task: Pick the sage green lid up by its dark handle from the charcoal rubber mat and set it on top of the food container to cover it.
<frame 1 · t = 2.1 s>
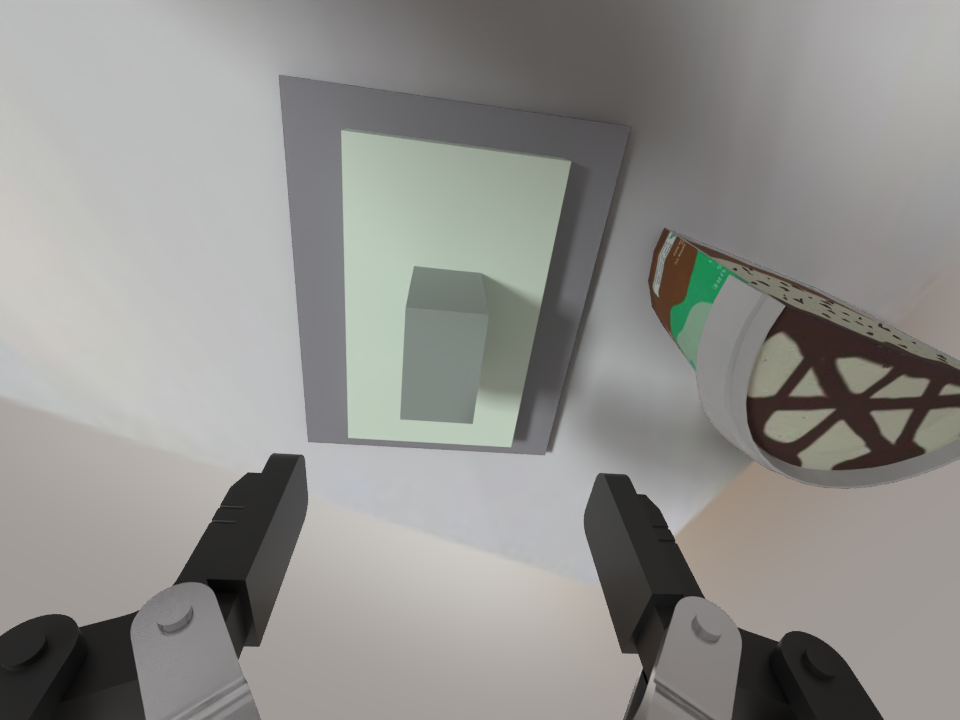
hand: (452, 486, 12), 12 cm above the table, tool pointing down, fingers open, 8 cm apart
mat: (443, 305, 23), on the table
lid: (443, 310, 22), point 1 cm above the table, touching mat
food container: (706, 310, 24), on the table
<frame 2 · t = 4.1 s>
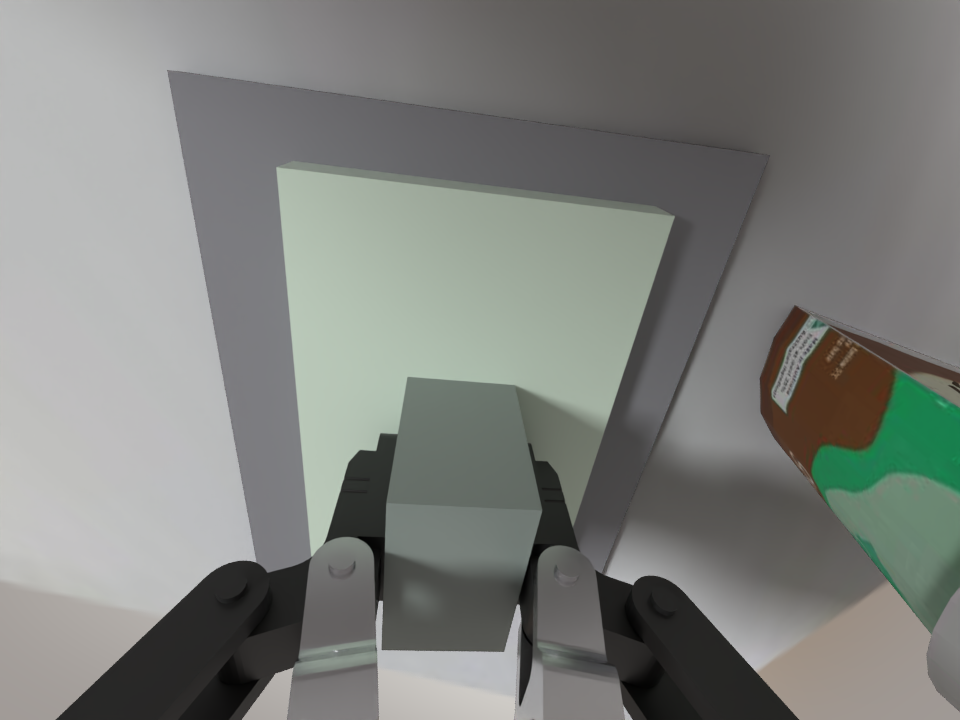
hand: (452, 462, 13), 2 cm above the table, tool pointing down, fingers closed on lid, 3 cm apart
mat: (453, 414, 15), on the table
lid: (453, 425, 15), point 1 cm above the table, touching gripper, mat
food container: (836, 415, 16), on the table
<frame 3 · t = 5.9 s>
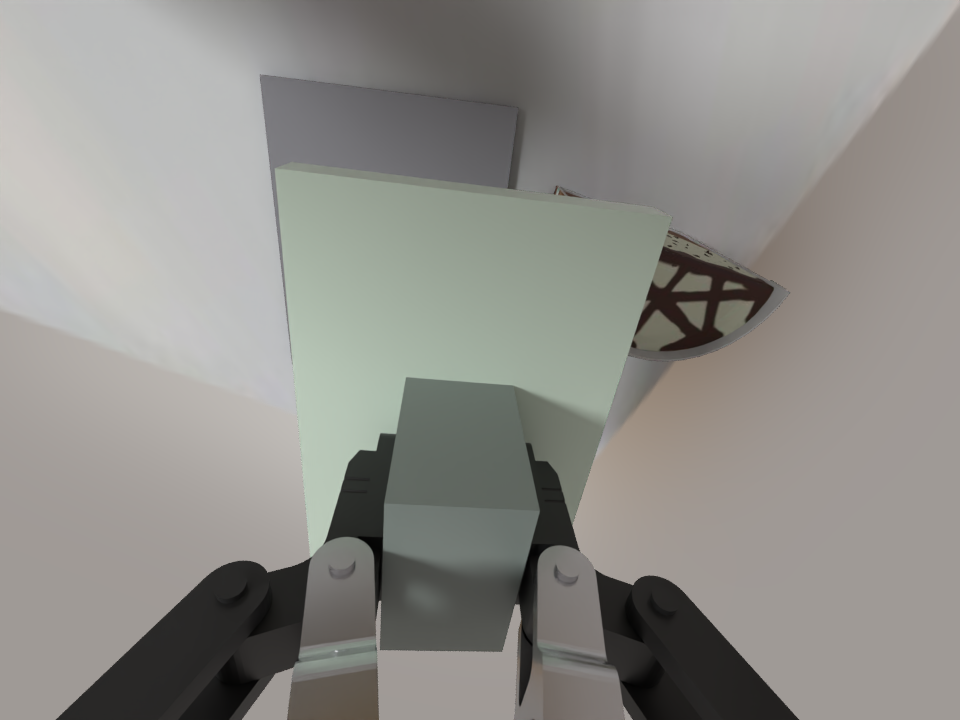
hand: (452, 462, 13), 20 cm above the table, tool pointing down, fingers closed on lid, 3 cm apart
mat: (391, 249, 30), on the table
lid: (451, 425, 15), point 18 cm above the table, touching gripper
food container: (599, 253, 31), on the table
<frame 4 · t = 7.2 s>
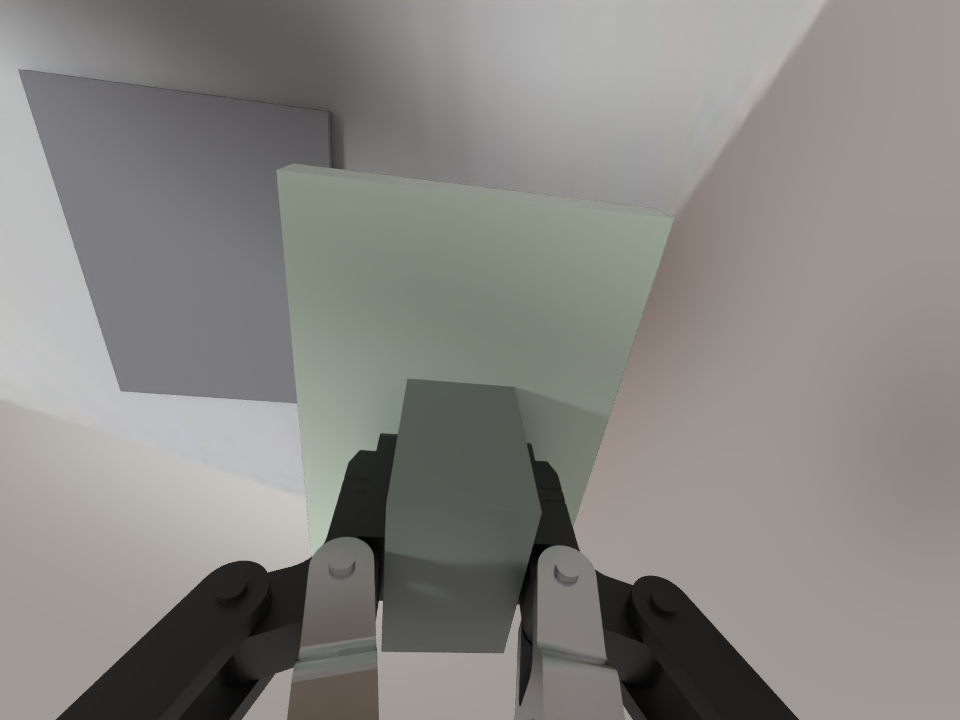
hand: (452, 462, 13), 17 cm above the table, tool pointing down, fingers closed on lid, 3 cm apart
mat: (214, 267, 27), on the table
lid: (453, 426, 15), point 15 cm above the table, touching gripper
when the fingers open (13 cm above the table, at t = 8.1 s): lid drops 2 cm, resting on food container.
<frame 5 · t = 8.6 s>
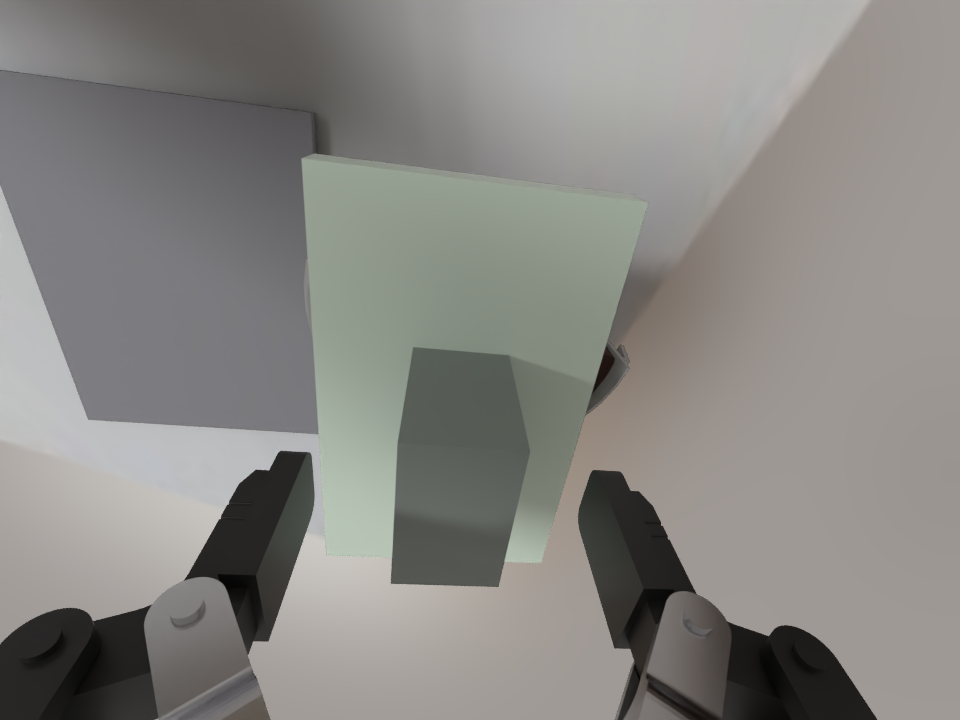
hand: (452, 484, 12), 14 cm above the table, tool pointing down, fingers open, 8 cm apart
mat: (188, 286, 24), on the table
lid: (453, 395, 16), point 10 cm above the table, touching food container
food container: (452, 292, 25), on the table, touching lid
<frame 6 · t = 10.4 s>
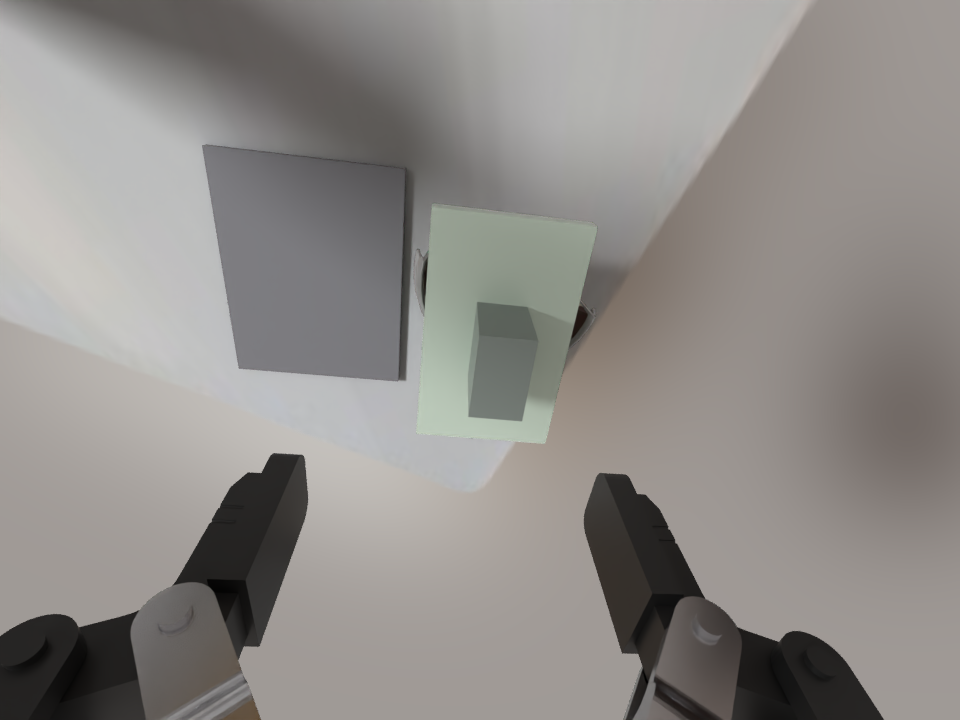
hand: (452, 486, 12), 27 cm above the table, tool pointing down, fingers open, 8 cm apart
mat: (315, 276, 37), on the table
lid: (495, 333, 29), point 10 cm above the table, touching food container
food container: (487, 281, 38), on the table, touching lid
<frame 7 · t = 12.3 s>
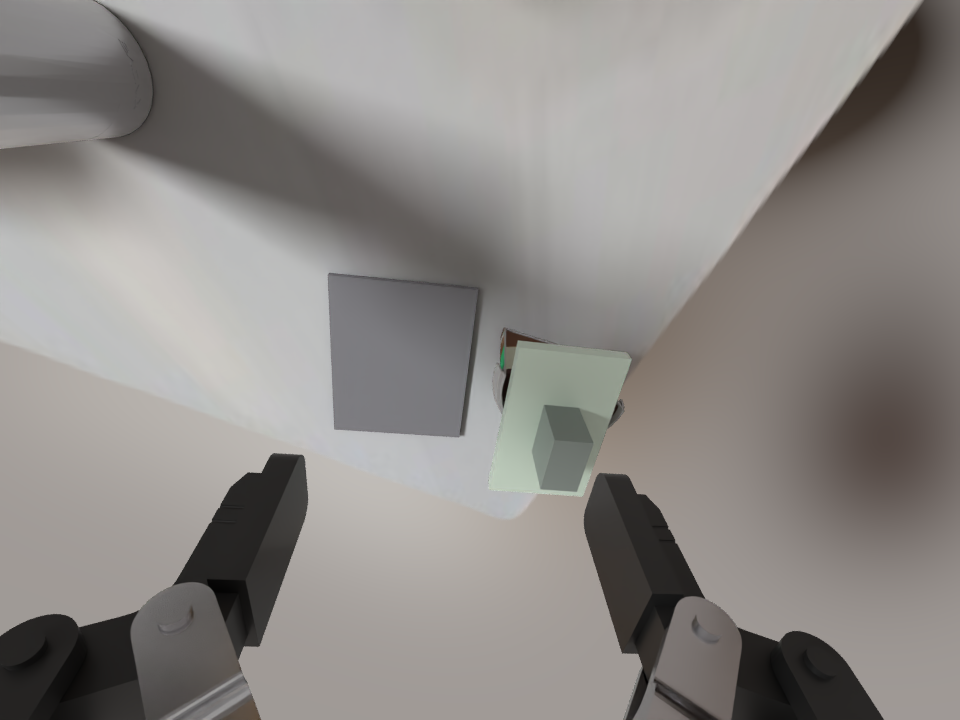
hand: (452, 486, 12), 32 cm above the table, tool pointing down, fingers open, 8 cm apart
mat: (401, 362, 47), on the table
lid: (552, 421, 39), point 10 cm above the table, touching food container
food container: (533, 363, 48), on the table, touching lid
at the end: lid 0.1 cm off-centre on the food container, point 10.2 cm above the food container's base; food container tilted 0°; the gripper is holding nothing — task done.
